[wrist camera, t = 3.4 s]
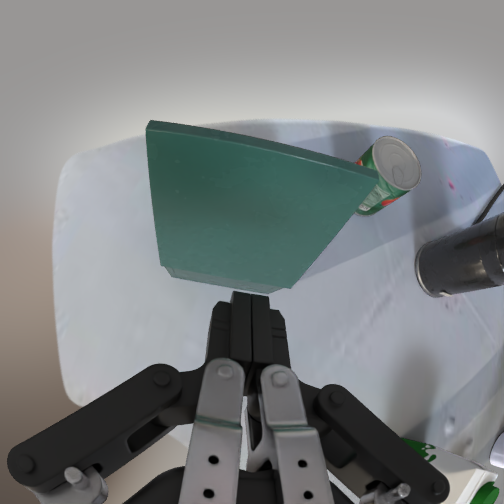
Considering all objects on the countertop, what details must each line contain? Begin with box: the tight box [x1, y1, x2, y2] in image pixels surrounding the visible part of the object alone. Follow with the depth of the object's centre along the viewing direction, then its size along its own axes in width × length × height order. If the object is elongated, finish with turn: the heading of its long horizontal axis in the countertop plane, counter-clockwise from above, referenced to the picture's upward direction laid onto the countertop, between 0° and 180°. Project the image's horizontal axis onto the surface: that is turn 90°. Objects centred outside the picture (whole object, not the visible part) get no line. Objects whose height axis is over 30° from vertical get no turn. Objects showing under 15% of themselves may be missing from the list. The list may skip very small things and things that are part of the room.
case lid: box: [146, 120, 379, 289], centre depth 22 cm, size 16×13×1 cm
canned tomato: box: [354, 136, 421, 216], centre depth 40 cm, size 8×8×11 cm
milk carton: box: [400, 437, 499, 504], centre depth 28 cm, size 9×9×20 cm
